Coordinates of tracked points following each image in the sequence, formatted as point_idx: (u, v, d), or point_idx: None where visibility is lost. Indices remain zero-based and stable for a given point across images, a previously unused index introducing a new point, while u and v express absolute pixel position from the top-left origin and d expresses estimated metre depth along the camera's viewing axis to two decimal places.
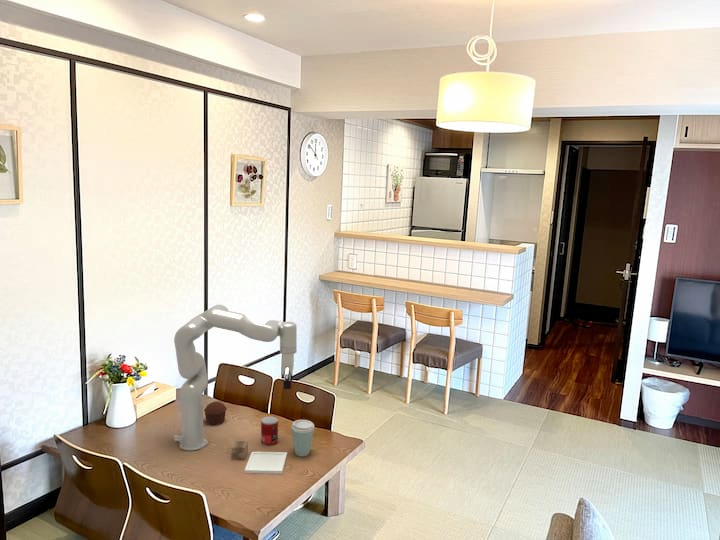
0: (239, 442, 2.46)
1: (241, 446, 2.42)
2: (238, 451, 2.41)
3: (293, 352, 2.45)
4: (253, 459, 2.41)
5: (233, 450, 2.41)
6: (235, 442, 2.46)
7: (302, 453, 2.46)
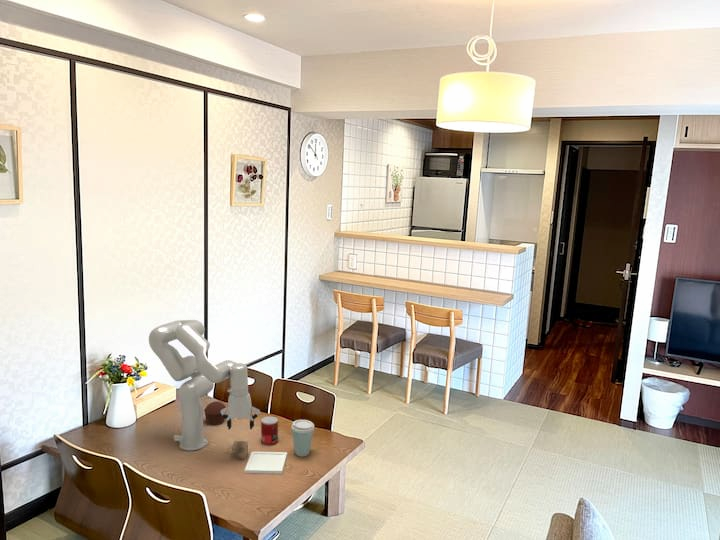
0: (239, 442, 2.46)
1: (241, 446, 2.42)
2: (238, 451, 2.41)
3: None
4: (253, 459, 2.41)
5: (233, 450, 2.41)
6: (235, 442, 2.46)
7: (302, 453, 2.46)
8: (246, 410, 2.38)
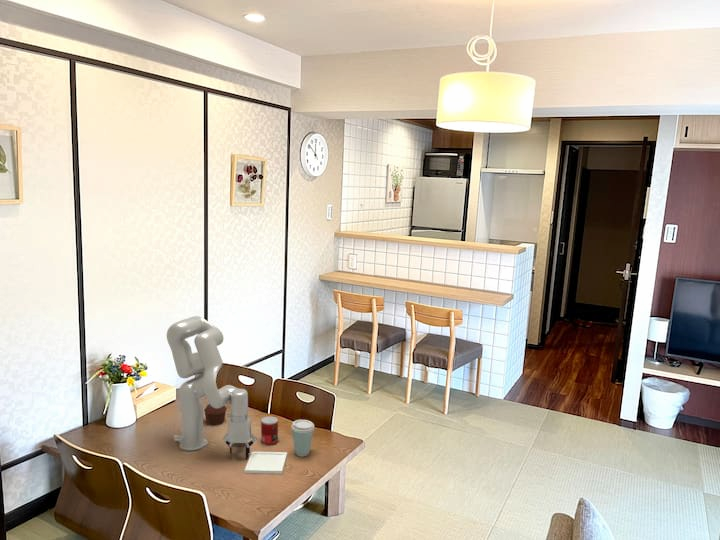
0: None
1: (241, 446, 2.42)
2: (238, 451, 2.41)
3: None
4: (253, 459, 2.41)
5: (233, 450, 2.41)
6: None
7: (302, 453, 2.46)
8: (246, 435, 2.41)
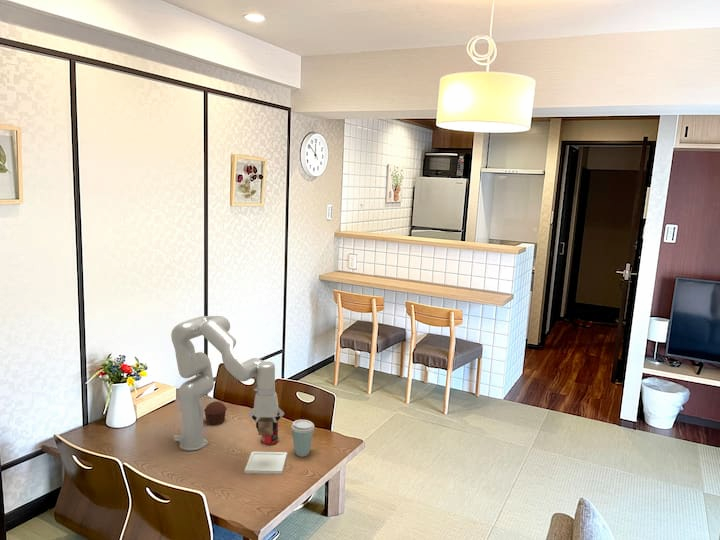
0: None
1: (268, 421, 2.34)
2: (264, 426, 2.33)
3: None
4: (253, 459, 2.41)
5: (260, 425, 2.33)
6: None
7: (302, 453, 2.46)
8: (273, 410, 2.32)
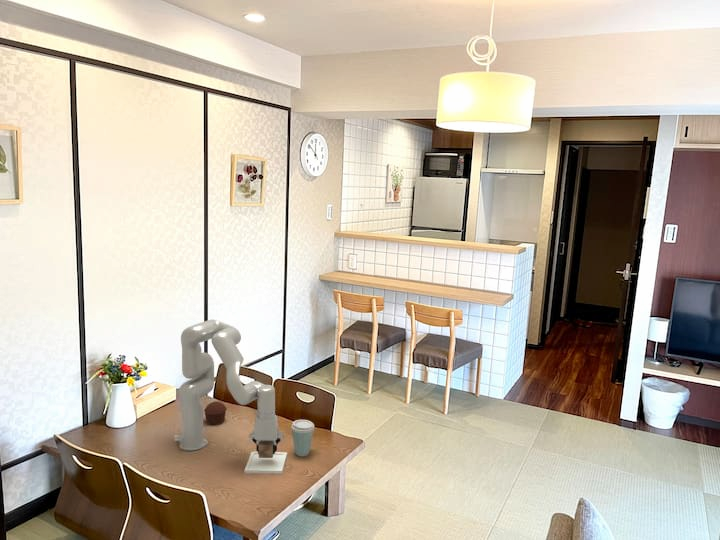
0: None
1: (268, 443, 2.35)
2: (265, 448, 2.35)
3: None
4: (253, 459, 2.41)
5: (260, 448, 2.35)
6: None
7: (302, 453, 2.46)
8: (273, 433, 2.34)
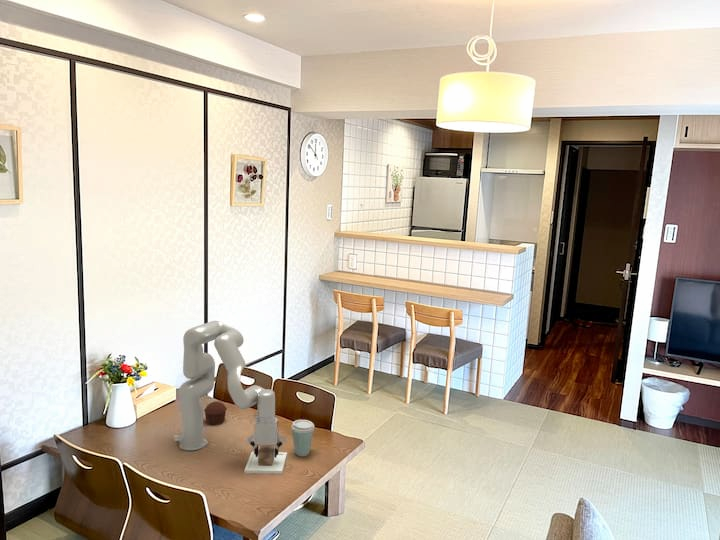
0: (266, 447, 2.40)
1: (268, 451, 2.36)
2: (264, 456, 2.35)
3: None
4: (253, 459, 2.41)
5: (260, 455, 2.35)
6: (261, 447, 2.40)
7: (302, 453, 2.46)
8: (273, 437, 2.34)
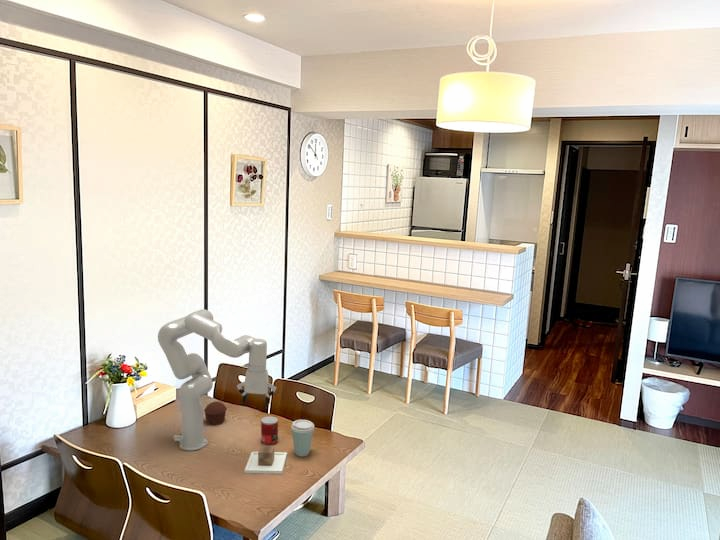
0: (266, 447, 2.40)
1: (268, 451, 2.36)
2: (264, 456, 2.35)
3: None
4: (253, 459, 2.41)
5: (260, 455, 2.35)
6: (261, 447, 2.40)
7: (302, 453, 2.46)
8: (263, 386, 2.36)
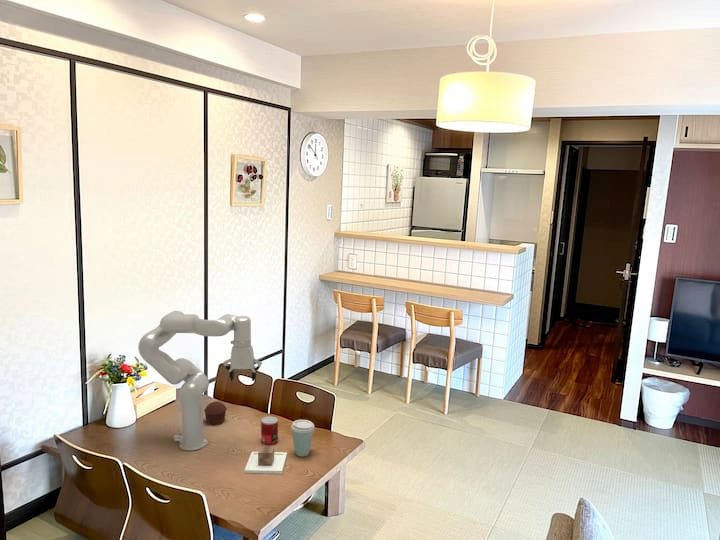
0: (266, 447, 2.40)
1: (268, 451, 2.36)
2: (264, 456, 2.35)
3: None
4: (253, 459, 2.41)
5: (260, 455, 2.35)
6: (261, 447, 2.40)
7: (302, 453, 2.46)
8: (249, 361, 2.43)
